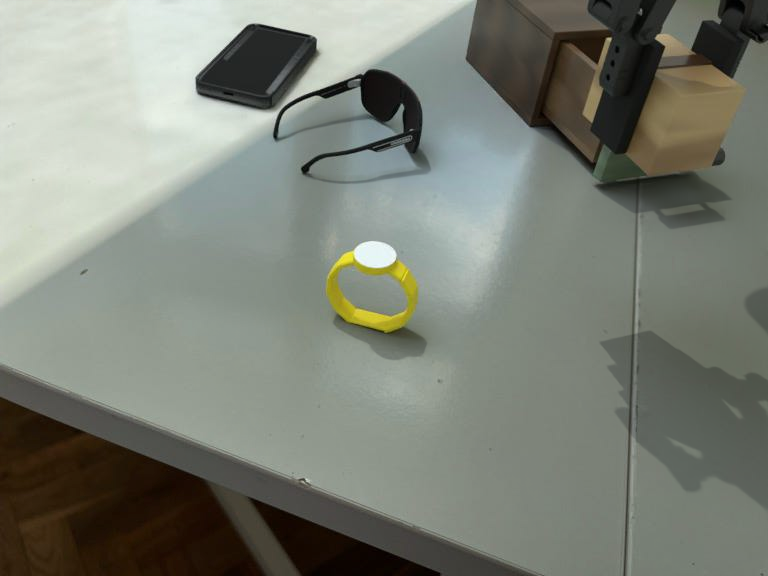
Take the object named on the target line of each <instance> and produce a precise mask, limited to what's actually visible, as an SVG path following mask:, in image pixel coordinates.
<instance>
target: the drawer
mask: <svg viewBox="0 0 768 576" xmlns="http://www.w3.org/2000/svg"><path fill="white" fill-rule="evenodd" d="M606 38H612V37H600V38H583V39H567V40H560V42H559V46H558V49H557V53H556V56H555V60H554V64H553V67H552V71H551V74H550V78H549V82H548V85H547V89H546V93H545V96H544V100H543V103H542V107H541V112H542V113H543V114H544V115H545V116H546V117H547V118H548V119H549V120H550V121H551V122H552V123H553V124H552V125H554V126H555V127H556V128H557V129H558V130H559V131H560V132H561V133H562V134H563V135H564V136H565V137H566V138H567V139H568V140H569V141H570V142H571V143H572V144H573V145H574V146H575V147H576V148H577V149H578V150H579V151H580V153H582V154H583V155H584V156H585V157H586V158H587V159H588V160H589V161H590V162H591V163H592V164H595V163H596V164H595V168H594V170H593V173H592V175H593V177H594V178H595V179H596V180H597V181H598V182H599V183H603V182H611V181H618V180H626V179H633V178H641V177H647V176H648V175H647V174H646V173H645V172H644V171H643V170H642V169H641V168H640V167H639V166H637V165H636V164H635V163H634V162H633V161H632V160H631V159H630V158H629V157H628V156H627V155H626V154H625V153H624V154H616V155H615V154H614V153H613V152H612V151H611V150H610V149H609V148H608V147H607V146H606V145H605V144H604V143H602V142H601V141H600V140H599V139H598V138H597V137H596V136H595V135H594V134H593V133H592V132H591V131H590V128H591V125H592V123H591V122H590V121H589V120H588V119H587V118H586V117H585V116H584V115H583V111H584V108H585V104H586V101H587V98H588V95H589V92H590V89H591V85H592V82H593V79H594V76H595V73H596V69H597V66H598V63H599V60H600V57H601V54H602V50H603V47H604V44H605V41H606ZM725 161H726V151H725V150H724V148H723V147H721V146H720V148H719V150H718V153H717V155H716V157H715V159H714V161H713V164H712V166H711V167H716V166H717V167H718V166H722V165H723V164H724V163H725ZM648 177H649V176H648Z"/></svg>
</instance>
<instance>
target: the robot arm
mask: <svg viewBox="0 0 768 576" xmlns="http://www.w3.org/2000/svg"><path fill="white" fill-rule="evenodd" d="M676 2H677V0H589V2H588V6H587V10H588V13H589V14H590V15H592V16H593V17H594V18H596V19H597V20H598V21H600V22H601V23H602V24H603V25H605V26H606V27H607V28H609V29H610V30H611V31H613V35H612V39H611V42H610V45H609V48H608V51H607V54H606V57H605V61H604V63H603V68H602V70H601V73H600V76H599V85H600V86H601V87H602V88H603V92H602V95H601V98H600V101H599V104H598V107H597V110H596V113H595V116H594V119H593V122H592V125H591V128H590V131H591V132H592V133H593V134H594V135H595V136H596V137H597V138H598V139H599V140H600V141H601V142H602V143H604V144H605V145H606V146H607V147H608V148H609V149H610V150H611V151H612V152H613V153H614V154H615V155H616V154H624V153H626V152H627V149H628V146H629V144H630V141H631V138H632V136H633V133H634V130H635V128H636V125H637V122H638V119H639V117H640V114H641V111H642V109H643V106H644V103H645V101H646V98H647V95H648V93H649V90H650V87H651V85H652V82H653V79H654V76H655V74H656V71H657V68H658V66H659V63H660V60H661V58H662V55H663V52H664V50H665V47H666V46H664V45H663V44H662V43H660V42H659V41H657V40H656V39H655V38H656V36H657V34H658V33H659V31H660V29H661V27H662V26H664V24H665V22H666V20H667V18H668V16H669V15H670V13H671V11H672V9H673V8H674V6H675V4H676ZM640 10H641V11H642V14H641V13H640V12H639V11H640ZM717 17H718V19H719V20H720V22H717V21H715V20H713V19H707V20H702V21H701V23H700V26H699V28H698V31H697V34H696V36H695V39H694V41H693V43H692V46H691V48H690V50H691V51H693V52H694V53H696V54H702V55H703V56H705V57H706V58H707V59H709V60H710V61H712V62H713V66H714V67H716V68H717V69H718V70H720V71H721V72H723V73H724V74H725V75H727V76H728V77H730V78H731V79H732V80H734V77H735V75H736V73H737V70H738V68H739V67H740V64H741V61H742V59H743V57H744V55H745V52H746V50H747V48H748V46H749V44H750V41H751V40H752V41H754V42H755V43H757V44H759V45H761V44H764V43H766V42H767V41H768V0H719V5H718V8H717Z"/></svg>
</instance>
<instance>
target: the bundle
mask: <svg viewBox="0 0 768 576" xmlns="http://www.w3.org/2000/svg"><path fill="white" fill-rule="evenodd" d="M611 39H612V38H606V41H605V44H604V47H603V50H602V54H601V57H600V60H599V63H598V66H597V69H596V73H595V76H594V79H593V82H592V85H591V89H590V92H589V95H588V98H587V101H586V104H585V108H584V111H583V115H584V116H585V117H586V118H587V119H588V120H589V121H590V122H591V123H592V122H593V119H594V116H595V113H596V110H597V107H598V104H599V101H600V98H601V95H602V92H603V88H602V87H601V86H600V85H599V76H600V73H601V70H602V68H603V63H604V61H605V57H606V54H607V51H608V48H609V45H610V42H611ZM655 39H656V40H657V41H659V42H660V43H662V44H663V45H664V46H666V47H665V50H664V52H663V55H662V58H661V60H660V63H659V66H658V68H657V71H656V74H655V76H654V79H653V82H652V85H651V87H650V90H649V93H648V95H647V98H646V101H645V103H644V106H643V109H642V111H641V114H640V117H639V119H638V122H637V125H636V128H635V130H634V133H633V136H632V138H631V141H630V144H629V146H628V149H627V152H626V153H625V154H626V155H627V156H628V157H629V158H630V159H631V160H632V161H633V162H634V163H635V164H636V165H637V166H639V167H640V168H641V169H642V170H643V171H644V172H645V173H646V174H647V175H648V177H652V176H653V177H654V176H658V175H659V176H661V175H667V174H675V173H681V172H686V171H695V170H701V169H708V168H711V167H713V166H712V164H713V161H714V159H715V157H716V155H717V153H718V150H719V148H720V147H721V146H722V144H723V141H724V139H725V138H726V135H727V133H728V131H729V129H730V127H731V124H732V122H733V120H734V118H735V116H736V113H737V111H738V109H739V107H740V106H741V105H740V104H741V103H742V100H743V98H744V96H745V95H746V92H747V88H746V87H744V86H742V85H741V84H739V83H738V82H736V81H735V80H734V79H731V78H730V77H728V76H727V75H725V74H724V73H723V72H721V71H720V70H718V69H717V68H716V67H714V66H713V62H712V61H710V60H709V59H707V58H706V57H705V56H703V55H702V54H696V53H694V52H693V51H691V48H688V46H685V45H684V44H683V43H681V42H680V41H679V40H678V39H676V38H675V37H674V36H672V35H670V34H669V33H660V34H658V35H657V36H656V38H655Z"/></svg>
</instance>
